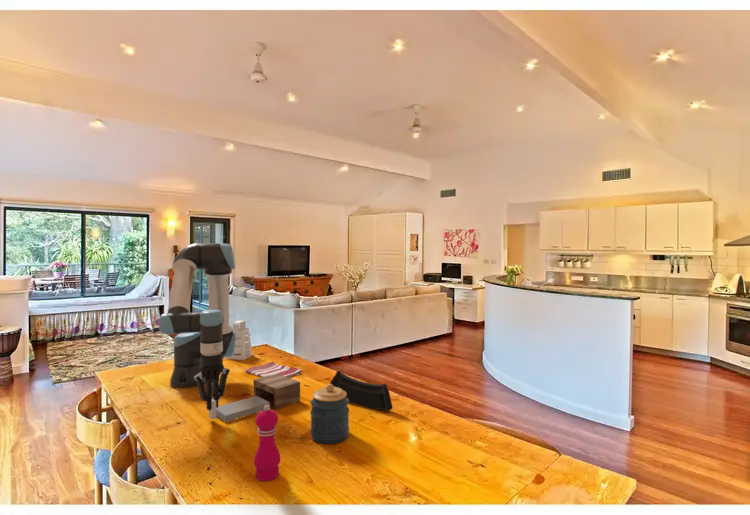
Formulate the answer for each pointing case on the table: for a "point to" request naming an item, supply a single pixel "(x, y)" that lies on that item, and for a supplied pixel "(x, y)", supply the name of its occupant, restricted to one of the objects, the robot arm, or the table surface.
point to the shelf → (278, 389)
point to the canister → (329, 415)
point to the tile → (241, 408)
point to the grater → (241, 341)
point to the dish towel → (273, 370)
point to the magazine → (363, 392)
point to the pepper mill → (267, 446)
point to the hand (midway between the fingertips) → (212, 417)
